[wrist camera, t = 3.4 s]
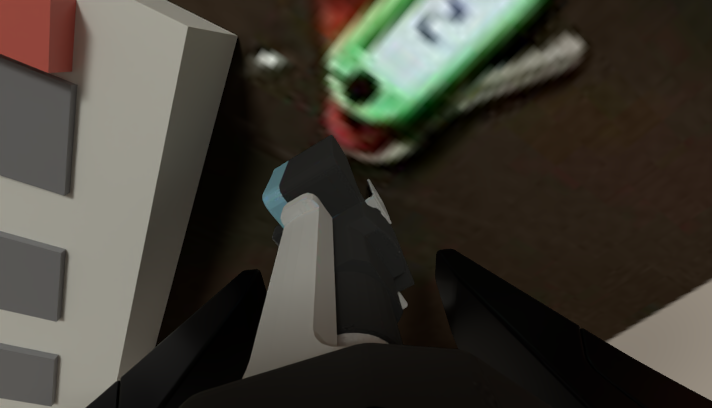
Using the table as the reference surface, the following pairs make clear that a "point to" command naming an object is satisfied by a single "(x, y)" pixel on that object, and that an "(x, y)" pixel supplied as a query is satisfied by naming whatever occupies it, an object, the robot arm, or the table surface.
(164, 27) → the power strip
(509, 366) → the robot arm
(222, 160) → the table surface
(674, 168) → the table surface
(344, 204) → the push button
